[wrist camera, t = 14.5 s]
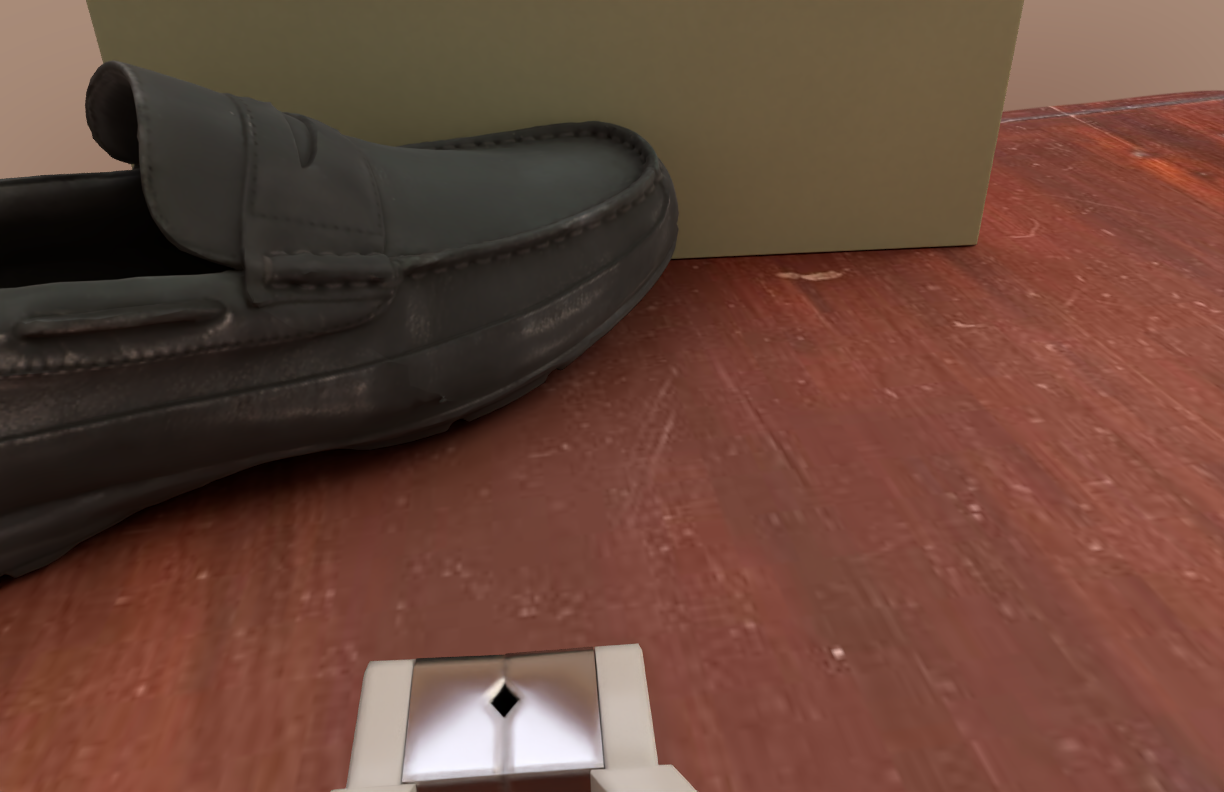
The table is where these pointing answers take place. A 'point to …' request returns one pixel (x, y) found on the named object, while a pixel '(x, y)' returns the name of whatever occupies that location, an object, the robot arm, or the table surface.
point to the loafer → (290, 293)
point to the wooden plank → (646, 94)
